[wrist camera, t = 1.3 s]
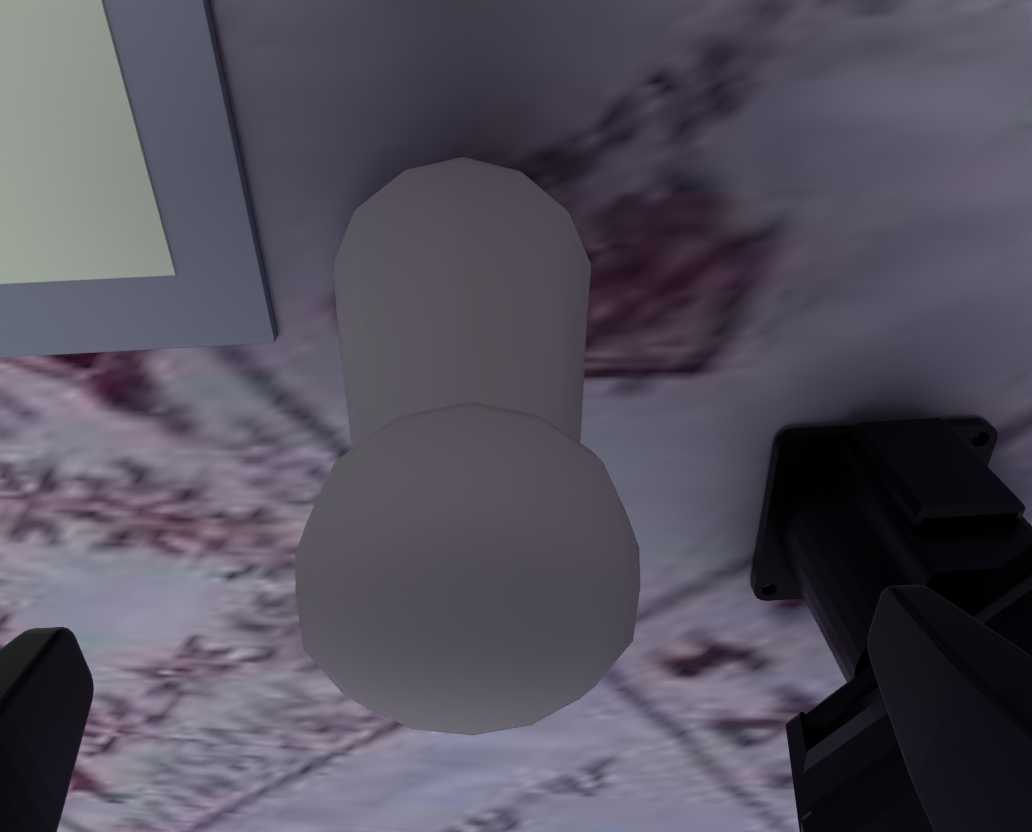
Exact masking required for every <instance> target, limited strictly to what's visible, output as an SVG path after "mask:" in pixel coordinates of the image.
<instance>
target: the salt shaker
mask: <svg viewBox="0 0 1032 832" xmlns="http://www.w3.org/2000/svg"><path fill="white" fill-rule="evenodd" d="M333 269H334V282H335V296H336V310H337V322H338V330H339V339H340V347H341V356H342V365H343V373H344V382H345V390H346V399H347V407H348V416H349V425H350V433H351V442H352V449H351V450H350V451H348V452H347V453H346V454H344V455H343V456H342V457H341V458H340V459H339V460H338V461H337V462H336V463H335V464H334V465H333V467H332V469H331V471H330V473H329V475H328V478H327V480H326V482H325V484H324V486H323V488H322V490H321V493H320V495H319V497H318V499H317V501H316V503H315V506H314V508H313V510H312V512H311V514H310V516H309V519H308V521H307V524H306V526H305V529H304V532H303V535H302V537H301V540H300V543H299V546H298V549H297V551H296V599H297V606H298V614H299V621H300V628H301V635H302V642H303V649H304V650H305V651H306V653H307V654H308V655H309V656H310V657H311V658H312V659H313V660H314V662H315V663H316V664H317V665H318V666H319V667H320V668H321V669H322V670H323V672H324V673H325V674H326V675H327V676H328V677H329V678H330V679H331V680H332V682H333V683H334V684H335V685H336V686H337V687H338V688H339V689H340V691H341V692H342V693H343V694H345V695H346V696H348V697H349V698H351V699H353V700H354V701H356V702H358V703H359V704H361V705H363V706H365V707H367V708H369V709H371V710H373V711H375V712H377V713H380V714H382V715H384V716H386V717H388V718H390V719H392V720H394V721H396V722H398V723H401V724H403V725H405V726H407V727H409V728H411V729H417V730H426V731H436V732H446V733H455V734H465V735H476V734H482V733H488V732H494V731H500V730H505V729H511V728H517V727H523V726H529V725H532V724H534V723H536V722H538V721H540V720H541V719H543V718H545V717H547V716H549V715H551V714H552V713H554V712H556V711H558V710H560V709H561V708H563V707H565V706H567V705H569V704H571V703H572V702H574V701H576V700H578V699H580V698H581V697H582V696H584V695H585V694H586V693H587V692H589V691H590V690H591V689H592V688H593V687H595V686H596V684H597V683H598V682H599V681H600V680H601V678H602V677H603V676H604V675H605V674H606V672H607V671H608V670H609V669H610V668H611V666H612V665H613V664H614V663H615V662H616V660H617V659H618V658H619V657H620V656H621V654H622V653H623V652H624V651H625V650H626V648H627V647H628V646H629V645H630V644H631V642H632V641H633V636H634V629H635V621H636V614H637V606H638V599H639V591H640V564H639V546H638V543H637V541H636V538H635V535H634V532H633V529H632V527H631V524H630V521H629V518H628V516H627V513H626V511H625V509H624V507H623V505H622V503H621V500H620V498H619V496H618V494H617V492H616V490H615V487H614V485H613V483H612V481H611V479H610V477H609V474H608V472H607V470H606V468H605V466H604V464H603V462H602V461H601V460H600V459H599V458H598V457H597V456H596V455H595V454H594V453H593V452H592V451H591V450H589V449H588V448H586V447H585V446H583V445H582V444H580V436H581V418H582V400H583V382H584V365H585V347H586V329H587V313H588V300H589V287H590V274H591V264H590V261H589V259H588V256H587V254H586V251H585V249H584V247H583V244H582V242H581V239H580V237H579V235H578V232H577V230H576V227H575V225H574V223H573V220H572V218H571V215H570V213H569V212H568V211H567V210H566V209H565V208H564V207H563V206H562V205H560V204H559V203H558V202H557V201H556V200H554V199H553V198H552V197H551V196H550V195H548V194H547V193H546V192H545V191H544V190H543V189H541V188H540V187H539V186H538V185H537V184H535V183H534V182H533V181H532V180H531V179H529V178H528V177H527V176H526V175H525V174H524V173H522V172H521V171H518V170H514V169H510V168H506V167H502V166H498V165H494V164H490V163H486V162H482V161H478V160H474V159H470V158H466V157H459V158H455V159H450V160H446V161H441V162H437V163H433V164H428V165H424V166H419V167H415V168H410V169H406V170H404V171H403V172H402V173H401V174H399V175H398V176H397V177H396V178H394V179H393V180H392V181H391V182H389V183H388V184H387V185H386V186H384V187H383V188H382V189H381V190H379V191H378V192H377V193H375V194H374V195H373V196H372V197H370V198H369V199H368V200H367V201H365V202H364V203H363V204H362V205H360V206H359V207H358V208H357V209H356V210H355V211H354V212H353V215H352V217H351V220H350V222H349V225H348V227H347V230H346V233H345V235H344V238H343V240H342V243H341V245H340V248H339V250H338V253H337V255H336V258H335V260H334V263H333Z"/></svg>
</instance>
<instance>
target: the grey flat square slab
mask: <svg viewBox="0 0 1032 832" xmlns="http://www.w3.org/2000/svg"><path fill="white" fill-rule="evenodd" d="M277 336H278V335H277V331H276V326H275V321H274V316H273V311H272V306H271V302H270V297H269V292H268V287H267V282H266V277H265V273H264V268H263V263H262V258H261V253H260V248H259V244H258V239H257V234H256V229H255V224H254V219H253V214H252V210H251V205H250V200H249V195H248V190H247V185H246V181H245V176H244V171H243V166H242V161H241V156H240V152H239V147H238V142H237V137H236V132H235V127H234V123H233V118H232V113H231V108H230V103H229V98H228V94H227V89H226V84H225V79H224V74H223V69H222V65H221V60H220V55H219V50H218V45H217V40H216V36H215V31H214V26H213V21H212V16H211V11H210V7H209V2H208V0H0V357H18V356H37V355H55V354H74V353H93V352H111V351H130V350H149V349H168V348H186V347H205V346H224V345H243V344H261V343H275V341H276V339H277Z"/></svg>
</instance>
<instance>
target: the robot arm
mask: <svg viewBox="0 0 1032 832" xmlns="http://www.w3.org/2000/svg"><path fill="white" fill-rule="evenodd" d="M978 433H980V435H979V436H978V437H976V438H974V439H973V437H974V436H975V435H977V434H978ZM997 434H998V433H997V431H996V429H995V428H994V427H993V426H992V425H991V424H990V423H989V422H988V421H986V420H985V419H982V418H968V419H951V420H941V419H939V418H934V419H917V420H900V421H883V422H866V423H858V424H856V425H849V426H832V427H815V428H798V429H790V430H786V431H784V432H783V433H781V434H780V435H779V436H778V437H777V438H776V440H775V443H774V447H773V453H772V459H771V464H770V470H769V476H768V482H767V488H766V494H765V500H764V506H763V512H762V518H761V523H760V529H759V535H758V541H757V547H756V553H755V559H754V565H753V571H752V577H751V587H752V590H753V592H754V594H755V596H756V597H757V598H758V599H760V600H764V601H771V600H786V599H801V598H804V599H805V601H806V603H807V605H808V607H809V609H810V611H811V613H812V615H813V616H814V618H815V620H816V622H817V624H818V626H819V628H820V630H821V632H822V634H823V636H824V638H825V640H826V642H827V644H828V646H829V648H830V650H831V652H832V654H833V656H834V658H835V660H836V662H837V664H838V666H839V667H840V669H841V671H842V673H843V675H844V677H845V679H846V681H847V683H846V684H844V685H843V686H842V687H840V688H839V689H838V690H836V691H835V692H834V693H832V694H831V695H830V696H828V697H827V698H826V699H824V700H823V701H822V702H820V703H819V704H818V705H816V706H815V707H814V708H812V709H811V710H810V711H808V712H807V713H803V712H801V713H799V714H798V715H797V716H795V717H794V718H793V719H791V720H790V721H789V722H787V723H786V731H787V738H788V746H789V754H790V761H791V769H792V776H793V784H794V791H795V799H796V806H797V814H798V822H799V829H800V832H1032V526H1031V525H1030V524H1029V523H1028V522H1027V521H1026V520H1025V518H1024V517H1023V513H1024V511H1025V506H1024V504H1023V503H1022V502H1021V501H1020V500H1019V499H1018V498H1017V497H1016V496H1015V495H1014V494H1013V493H1012V492H1011V491H1010V490H1009V489H1008V487H1007V486H1006V485H1005V484H1004V483H1003V482H1002V481H1001V480H1000V479H999V478H998V477H997V476H996V475H995V474H994V473H993V472H992V471H991V470H990V469H989V468H988V467H987V466H988V463H989V460H990V457H991V455H992V452H993V449H994V446H995V443H996V440H997ZM796 443H799V444H798V446H797V447H796V448H795V449H792V450H788V448H789V447H790V446H791V445H792V444H796ZM768 584H770V585H769V586H766V585H768ZM764 586H766V587H764ZM93 691H94V688H93V679H92V675H91V673H90V670H89V668H88V666H87V663H86V661H85V659H84V656H83V654H82V651H81V649H80V647H79V644H78V642H77V640H76V637H75V635H74V634H73V632H72V631H70V630H69V629H68V628H64V627H54V628H35V629H30V630H27V631H25V632H23V633H22V634H20V635H19V636H17V637H16V638H15V639H13V640H12V641H11V642H10V643H8V644H7V645H6V646H4V647H3V648H2V649H0V832H57V829H58V825H59V822H60V819H61V815H62V812H63V808H64V804H65V800H66V797H67V793H68V789H69V785H70V782H71V778H72V774H73V770H74V767H75V763H76V759H77V755H78V752H79V748H80V744H81V740H82V737H83V733H84V729H85V726H86V722H87V718H88V714H89V711H90V707H91V703H92V699H93Z"/></svg>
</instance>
